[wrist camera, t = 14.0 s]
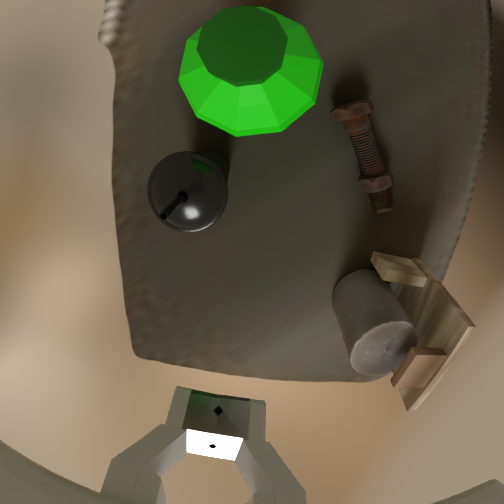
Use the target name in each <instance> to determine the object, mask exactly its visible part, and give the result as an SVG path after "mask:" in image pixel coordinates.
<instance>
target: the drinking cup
mask: <svg viewBox="0 0 504 504" xmlns="http://www.w3.org/2000/svg"><path fill="white" fill-rule="evenodd" d="M228 174H229V164H228V161H227V159H226V158H225V157H224V156H223V155H222V154H220V153H218V152H216V151H205V152H197V153H196V152H189V151H184V152H177V153H174V154H171V155H169V156H167V157H165V158H164V159H162V160H161V161H160V162H159V163H158V164H157V165H156V166H155V168H154V169H153V171H152V172H151V175H150V177H149V180H148V185H147V196H148V201H149V204H150V207H151V209H152V211H153V212H154V214H155V215H156V217H157V218H158V219H159V220H160V221H161V222H162V223H163V224H165V225H166V226H168V227H170V228H172V229H174V230H177V231H181V232H197V231H201V230H204V229H206V228H208V227H210V226H211V225H213V224H214V223H215V222H216V221H217V220H218V219H219V218H220V216H221V215H222V213H223V211H224V209H225V207H226V204H227V199H228V187H227V180H228Z"/></svg>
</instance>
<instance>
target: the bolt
mask: <svg viewBox="0 0 504 504" xmlns="http://www.w3.org/2000/svg"><path fill="white" fill-rule="evenodd" d="M373 109H374V107H373V104H372V102H371V100H370V99H361V100H357V101H353V102H350V103H347V104H343V105H341V106H338V107H336V108H334V109H332V110H331V113H330V114H331V117H332V119H333V122H338V121H343V123H344V126H345V128H346V131H347V132H348V133H349V136H350V138H351V141H352V143H353V144H352V145H353V148H354V150H355V153H356V155H357V159H358V162H359V164H360V167H361V169H362V170H361V171H362V174H361V175H360V176H359V184H360V188H361V190H363V191H365V192H369V196H370V200H371V203H372V207H373V209H374V210H375V212H377V213H383V212H387V211H391V210H392V209H393V208H394V205H395V204H394V200H393V196H392V193H391V189H390V186H391V185H392V184H393V175H392V172H391V169H389V168H387V167H384V163H383V161H382V158H381V154H380V151H379V148H378V146H377V142H376V139H375V136H374V134H373V133H374V132H373V129H371V128H372V126H371V122H370V119H369V116H368V113H371V112H372V111H373Z"/></svg>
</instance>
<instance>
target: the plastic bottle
mask: <svg viewBox="0 0 504 504" xmlns="http://www.w3.org/2000/svg"><path fill="white" fill-rule="evenodd" d="M323 64H324V63H323V61H322V59H321V57H320V55H319V53H318V51H317V49H316V47H315V46H314V44H313V42H312V40H311V38H310V36H309V35H308V33H307V31H306V29H305V27H304V26H302V25H300V24H299V23H297V22H295V21H293V20H291V19H288V18H286V17H284V16H282V15H280V14H278V13H276V12H274V11H271V10H269V9H267V8H265V7H254V6H251V5H249V6H241V7H233V8H227V9H222V10H221V11H220V12H218V13H217V14H216V15H215V16H213V17H212V18H211V19H210V20H209V21H207V22H206V23H205V24H204V25H203V26H202V27H201V28H200V29H199V30H198V31H196V32H195V33H194V34H193V35H192V36H191V37H190V38H189V39H188V40H187V42H186V46H185V50H184V55H183V59H182V64H181V69H180V74H179V79H178V82H179V84H180V86H181V88H182V89H183V91H184V93H185V95H186V97H187V99H188V101H189V103H190V105H191V107H192V109H193V111H194V113H195V115H196V117H197V118H200V119H202V120H204V121H206V122H208V123H210V124H212V125H214V126H216V127H218V128H220V129H222V130H224V131H226V132H228V133H230V134H232V135H234V136H236V137H238V136H246V135H254V134H263V133H273V132H282V131H283V130H284V129H285V128H286V127H288V126H289V125H290V124H291V123H292V122H294V121H295V120H296V119H297V118H298V117H299V116H301V115H302V114H303V113H304V112H306V111H307V110H308V109H309V108H310V107H312V106H313V105H314V104H315V102H316V97H317V93H318V88H319V83H320V79H321V74H322V69H323Z"/></svg>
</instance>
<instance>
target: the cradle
mask: <svg viewBox="0 0 504 504" xmlns="http://www.w3.org/2000/svg"><path fill="white" fill-rule="evenodd" d="M370 261H371V262H372V264H373V265H374V267H375V269H376V270H377V272H378V273H379V275H380V276H381V278H382V280H384V281H389V282H395V283H401V285H400V288H399V290H398V292H397V294H396V298H397V300H398V301H399V303H400V304H401V306H402V307H403V309H404V311H405V312H406V314H407V316H408V317H409V319H410V321H411V322H412V324H413V326H414V327H415V329H416V331H417V335H418V343H417V346H416V347H411V349H410V351H409V352H408V354H407V355H406V357H405V359H404V360H403V362H402V363H401V365H400V366H399V367H398V368H396V369H394V370H392V372H393V377H392V378H391V383H392V385H393V388H399V390H400V393H401V396H402V399H403V401H404V404H405V407H406V410H407V411H415V410H416V409H417V408H418V407H419V405H420V404H421V403H422V402H423V401H424V399H425V398H426V397H427V396H428V395H429V393H430V392H431V391H432V390H433V388H434V387H435V386H436V385H437V383H438V382H439V381H440V379H441V378H442V377H443V375H444V374H445V372H446V371H447V370H448V369H449V367H450V366H451V364H452V363H453V362H454V360H455V358H456V357H457V356H458V354H459V353H460V351H461V350H462V348H463V347H464V345H465V344H466V342H467V341H468V339H469V338H470V336H471V334H472V333H473V331H474V329H475V328H476V326H475V325H474V324H473V322H472V321H471V320H470V318H469V317H468V316H467V314H466V313H465V312H464V311H463V309H462V308H461V307H460V306H459V304H458V303H457V302H456V301H455V299H454V298H453V297H452V296H451V295H450V293H449V292H448V291H447V290H446V288H445V287H444V286H443V285H442V284H441V283H440V281H439V280H438V279H437V278H436V277H435V276H434V274H433V273H432V272H431V271H430V270H429V269H428V268H427V267H426V265H425V264H424V263H423V262H422V261H421V260H420V259H419V258H414V257H412V259H408V258H403V257H399V256H394V255H389V254H385V253H380V252H375V251H374V252H373V254H372V257H371V260H370Z"/></svg>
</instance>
